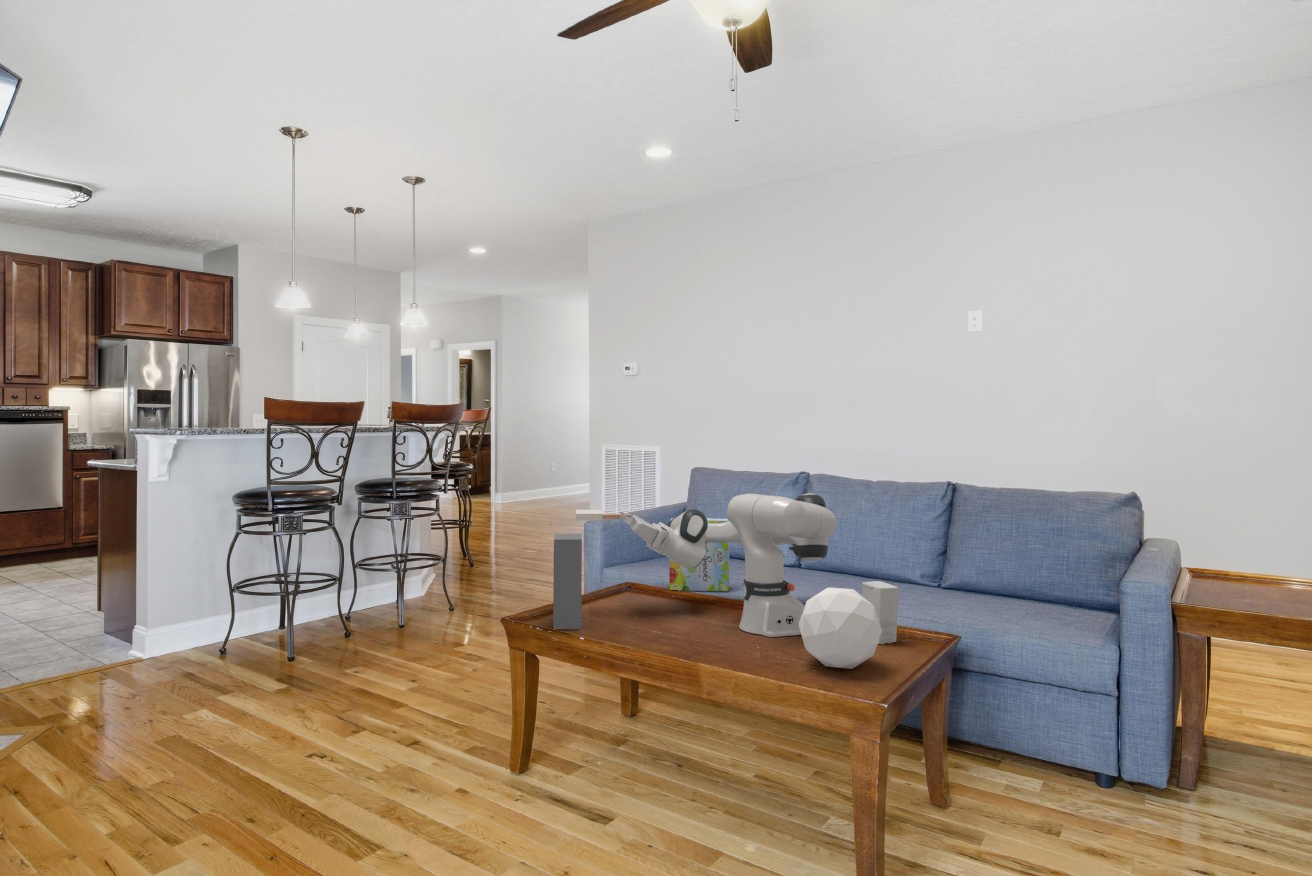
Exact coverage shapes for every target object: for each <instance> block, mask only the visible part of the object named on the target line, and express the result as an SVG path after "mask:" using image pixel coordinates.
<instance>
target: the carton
mask: <svg viewBox="0 0 1312 876" xmlns="http://www.w3.org/2000/svg"><path fill="white" fill-rule="evenodd" d="M582 553H583V536H582V533H555V534H554V537H553V588H552V589H553V592H552V595H553V597H552V598H553V600H552V601H553V605H552V606H553V609H552V611H553V614H552V617H553V618H552V620H553V621H552V628H564V629H581V630H582V582H583V581H582V578H583V577H582V574H583V573H582V570H583V567H582V566H583V565H582V563H583V557H582V556H583V554H582Z"/></svg>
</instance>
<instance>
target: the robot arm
mask: <svg viewBox="0 0 1312 876" xmlns="http://www.w3.org/2000/svg"><path fill="white" fill-rule="evenodd" d="M726 511H727V514H726V515H727V517H728V518H727V519H728V522H724V523H708V521H707V518H708V517H706V515H705V514H704V513H703V512H702V511H701V510H699V509H695V508H690V509H687V510H686V511H684V512H682V513H681V514H679V515H678V516H676V517H674V519H672V520H671V521H668V523H667V524H665V523H663V522H661V521H659V522H658V523H655V522H652V523H649V522H648V521H646V520H645V519H643V518H641V517H639V516H637V515H635V514H633V515H631V518H630V517H628V516H626V515H624V514H626V513H625V512H623V511H620V512H619V513H618V514H621V516H620V519H619V520H621V521H623V522H624V523H625V524H627V525H628V526H629V527H630V528H631V530H632V532H633V533H634V534H636V535H637V536H639V538H641V539H642V540H643V541H645V542H646V547H647V548H649V549H650V550H653V551H654V552H655V553H657V554H659V555H663V556H665V557H667V558H668V559H670V560H671V561H673V562H675V563H677V564H679V565H681V566H683V567H685V568H688V569H693V568H695V567H697V566H698V565H699V564H700V563H701V562H702V561H703V560H704V558H705V556H706V553H707V551H706V548H705V542H729V544H730V543H731V544H742V546H743V552H744V564H745V565H744V566H745V567H744V568H745V569H744V572H745V574H744V576H745V578H744V580H743V585H742V586H743V588H742V596H743V609H742V614H741V618H740V623H739V625H738V627H739V629H740V630H742V631H743V632H745V633H750V634H757V635H761V636H765V637H768V638H775V637H787V636H799V635H801V631H800V628H799V621H800V619H801V616H802V613H803V610H804V607H805V604H803V603H802V602H801V601H800V600H799V599H797V598H796V597H795V596H793V595H792V593H790V592H794V591H795V589H796V586H795V585H794V584H793V583H790V582H788V581H786V580H784V573H785V572H784V565H785V564H784V554H783V552H782V550H781V549H780V548H779V547H778V546H783V545H790V544H791V546H789V547H788V549H789V551H792V552H793V554H794V556H796V557H797V558H798V559H800V560H804V561H806V562H811V563H812V562H817V561H821V560H823V559H824V558H826V557H827V555H828V549H829V546H828V538H829V537H830V536H831V535H832V534H833V533H834V532H835V530H836V527H837V518H836V516H835V514H834V512H833V511H832V510H830V509H828V508H827V505H826V502H825V499H824V498H823V497H822V496H821V495H819V494H816V493H812V492H811V493H804V494H800V495H797V496H796V498H794V499H793V498H790V497H786V496H778V495H769V494H768V495H767V494H757V493H745V494H739V495H738V494H737V495H734V497H732V499H731V500H730V501H729V502H728V505H727V509H726ZM801 636H802V635H801Z"/></svg>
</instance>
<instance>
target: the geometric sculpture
mask: <svg viewBox="0 0 1312 876" xmlns="http://www.w3.org/2000/svg"><path fill="white" fill-rule="evenodd" d="M804 606H805V607H804V610H803V613H802V616H801V619H800V621H799V628H800V631H801V639H802V641H803V645H804V648H805V650H806V651H807V652H808V653H809V654H810V655H811V656H813V657H814V658H815V659H816V660H818V661H819V662H820V663H821V664H823V666H825V667H827V668H828V667H829V668H837V669H838V668H839V669H849V670H853V669H854V668H855V667H857V666H859V665H860V664H862V663H864V662H865V661H867V660H868V659H869V660H870V658H872V657H874V655H875V652H876V650H877V646H878V641H879V638H880V636H881V633H882V629H881V626H880V623H879V620H878V617H877V613H876V610H875V607H874V605H872V604H871V603H870V602H869V601H867V600H866V599H865V598H864V597H862V594H860V593H859V592H857V591H856V590H855V589H854V588H843V587H842V588H840V587H826V588H825V589H823V590H821V591H819V592H818V593H817V594H815V595H814V596H812V597H810V598H809V599H808V600H806V602H805V604H804Z"/></svg>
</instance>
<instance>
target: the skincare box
mask: <svg viewBox="0 0 1312 876" xmlns="http://www.w3.org/2000/svg"><path fill="white" fill-rule="evenodd" d="M899 590H900V589H899V587H898V586H896V585H893V584H890V583H887V582H883V581H880V580H876V581H875V580H874V581H865V582H864V581H863V582H862V583H861V596H862V597H864V598H865V599H866V600H867V601H869V602H870V603H871V604H872V605H874V607H875V610H876V613H877V617H878V620H879V623H880V626H881V629H882V633H881V636H880V638H879V641H878V644H881V645H886V644H885V643H888V644H893V643H892V642H896V643H897V632H898V631H897V630H898V609H899V608H898V607H899ZM878 644H877V645H878Z"/></svg>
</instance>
